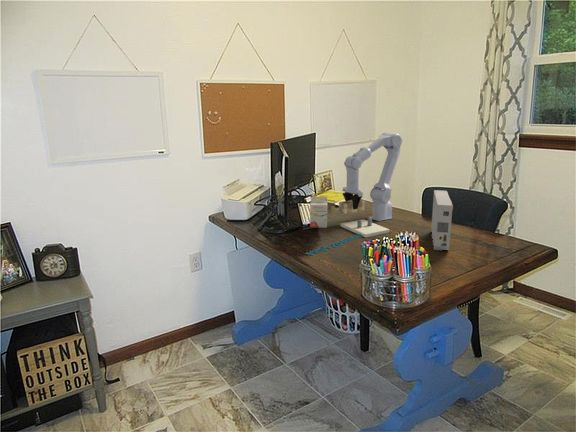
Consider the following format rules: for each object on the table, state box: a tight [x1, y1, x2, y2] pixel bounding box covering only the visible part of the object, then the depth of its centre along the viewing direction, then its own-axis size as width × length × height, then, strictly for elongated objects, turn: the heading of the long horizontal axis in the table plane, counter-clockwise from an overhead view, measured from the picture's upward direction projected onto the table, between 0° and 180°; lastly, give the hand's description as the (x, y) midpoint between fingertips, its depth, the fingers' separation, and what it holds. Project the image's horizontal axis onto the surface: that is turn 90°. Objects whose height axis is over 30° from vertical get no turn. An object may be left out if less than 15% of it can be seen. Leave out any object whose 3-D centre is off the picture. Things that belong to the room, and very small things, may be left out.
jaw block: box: [338, 199, 366, 215], centre depth 209 cm, size 5×12×5 cm, turn 116°
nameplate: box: [304, 234, 363, 256], centre depth 183 cm, size 37×1×5 cm
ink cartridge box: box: [309, 196, 329, 229], centre depth 207 cm, size 9×5×15 cm, turn 84°
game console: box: [430, 189, 454, 251], centre depth 180 cm, size 6×27×20 cm, turn 164°
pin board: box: [340, 217, 391, 238], centre depth 202 cm, size 14×20×5 cm
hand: (352, 207), depth 209 cm, fingers closed on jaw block, 5 cm apart
